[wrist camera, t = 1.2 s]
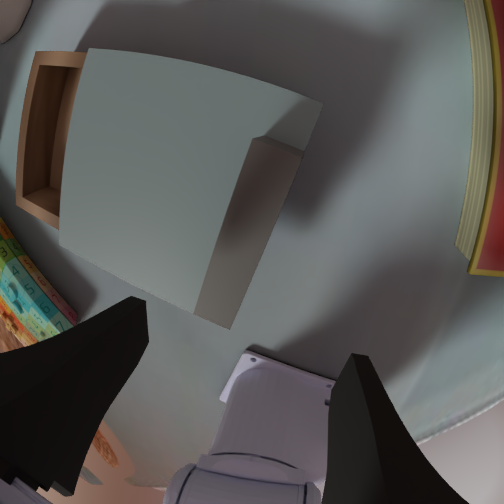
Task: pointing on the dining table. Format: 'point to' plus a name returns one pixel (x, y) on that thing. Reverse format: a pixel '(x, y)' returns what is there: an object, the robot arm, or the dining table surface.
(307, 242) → the dining table surface
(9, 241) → the puzzle game
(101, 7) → the dining table surface
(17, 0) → the flask
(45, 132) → the box
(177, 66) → the lid
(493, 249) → the hardcover book
